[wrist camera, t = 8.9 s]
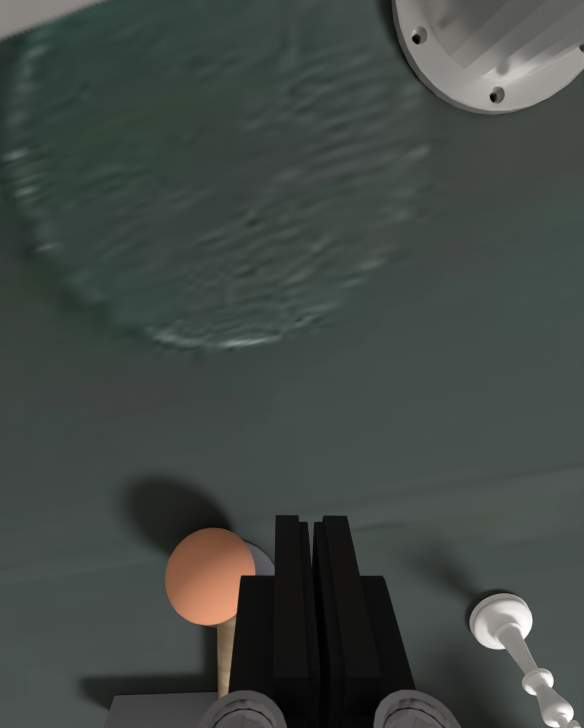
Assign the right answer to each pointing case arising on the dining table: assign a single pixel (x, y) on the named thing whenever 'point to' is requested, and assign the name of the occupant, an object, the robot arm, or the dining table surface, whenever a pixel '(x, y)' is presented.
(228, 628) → the beech pin
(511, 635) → the chess piece
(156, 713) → the back wall
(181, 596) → the ball
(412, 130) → the dining table surface
